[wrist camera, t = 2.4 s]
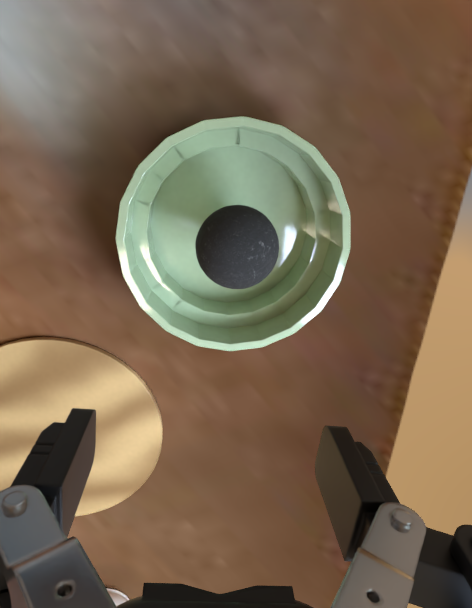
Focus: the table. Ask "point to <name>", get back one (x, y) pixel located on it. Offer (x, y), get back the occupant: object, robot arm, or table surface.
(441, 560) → the robot arm
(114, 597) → the trinket box
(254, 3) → the table surface
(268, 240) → the light bulb
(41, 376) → the disc
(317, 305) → the bowl
